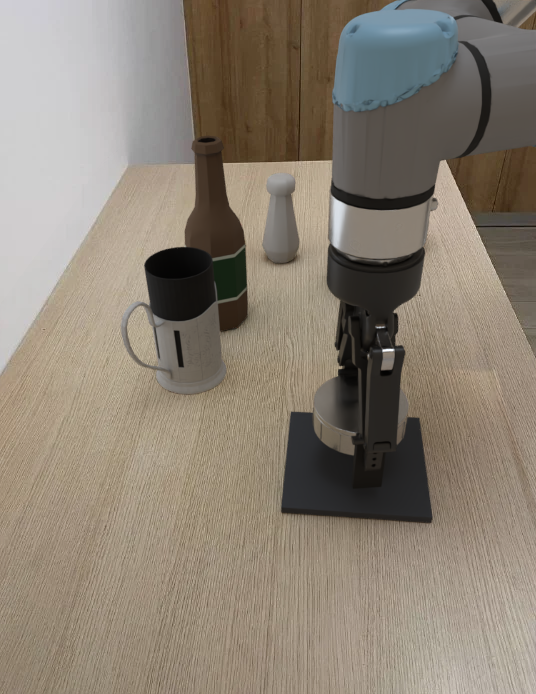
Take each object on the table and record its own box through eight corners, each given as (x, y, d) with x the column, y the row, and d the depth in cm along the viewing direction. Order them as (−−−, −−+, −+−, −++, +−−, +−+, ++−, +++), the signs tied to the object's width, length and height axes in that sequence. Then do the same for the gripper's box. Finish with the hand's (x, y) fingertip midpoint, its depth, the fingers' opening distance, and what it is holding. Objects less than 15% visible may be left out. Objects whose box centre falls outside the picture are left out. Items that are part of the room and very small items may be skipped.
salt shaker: (258, 263, 100) (255, 181, 92) (268, 246, 104) (267, 167, 96) (294, 267, 98) (295, 184, 90) (303, 250, 102) (305, 169, 94)
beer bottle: (181, 317, 89) (159, 140, 74) (224, 296, 93) (212, 124, 77) (216, 339, 84) (200, 156, 69) (260, 317, 88) (254, 138, 73)
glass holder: (240, 364, 80) (234, 254, 70) (169, 430, 71) (150, 315, 62) (185, 344, 84) (172, 237, 74) (111, 404, 75) (85, 292, 66)
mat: (418, 422, 70) (419, 417, 70) (431, 523, 59) (432, 517, 59) (290, 416, 72) (290, 411, 71) (281, 512, 61) (281, 507, 61)
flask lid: (330, 464, 58) (331, 441, 56) (301, 404, 65) (301, 382, 63) (420, 446, 59) (425, 422, 57) (383, 388, 66) (386, 366, 64)
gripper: (469, 313, 42) (422, 532, 56) (392, 187, 58) (371, 381, 73) (354, 321, 42) (337, 538, 56) (310, 192, 58) (305, 386, 73)
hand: (356, 450), depth 64 cm, fingers closed on flask lid, 9 cm apart
